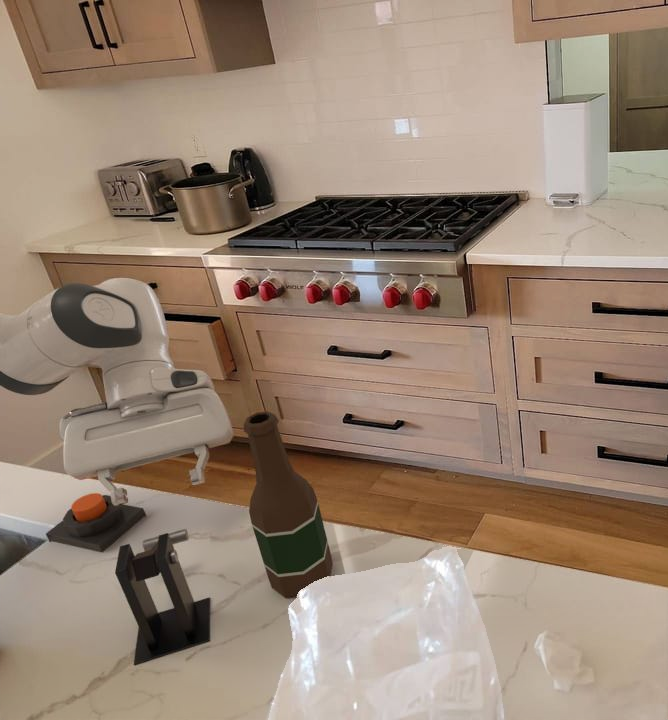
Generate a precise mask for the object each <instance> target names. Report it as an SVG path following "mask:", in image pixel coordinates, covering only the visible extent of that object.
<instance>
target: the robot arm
mask: <svg viewBox="0 0 668 720" xmlns="http://www.w3.org/2000/svg"><path fill="white" fill-rule="evenodd" d="M165 317H166V316H165V314H164V311H163V307H162V304H161V302H160V300H159V298H158V295H157V294H156V292H155V291H154V289H153V288H152V287H151V286H150V285H149V284H147V283H146V282H144V281H141V280H138V279H134V278H129V277H115V278H109V279H107V280H105V281H103V282H101V283H100V284H96V285H90V284H87V283H81V282H72V283H66V284H64V285H62V286H60V287H58V288H56V289H54V290H52V291H50V292H49V293H48V294H46V295H44V296H43V297H41V298H40V299H38V300H36V302H34V303H33V304H32V305H31V306H28V308H26V309H24V310H23V311H21V312H20V313H18V314H16V315H13V314H12V315H11V314H5V313H2V312H0V387H2V388H3V389H5V390H8V391H10V392H11V393H15V394H19V395H24V396H37V395H43V394H46V393H48V392H50V391H52V390H54V389H55V388H56V387H58V386H59V385H60V384H61V383H63V382H64V381H66V380H67V379H68V378H69V377H70V376H71V375H73V374H75V373H77V372H78V371H80V370H83V368H85V367H87V366H89V365H90V366H91V365H92V366H93V365H94V366H98V367H100V369H101V370H102V373H101V374H102V381H103V388H104V395H105V401H104V402H100V403H95V404H92V405H89V406H84V407H78V408H74V409H70V411H69V413H67V414H66V415H64V416H63V417H62V418H61V420H60V421H59V434H60V439H61V440H62V441H63V447H62V448H63V449H62V457H63V458H62V459H63V469H64V472H65V473H66V474H67V475H69V476H70V477H71V478H73V479H76V480H79V481H84V480H87V479H91V478H96V477H97V480H98V481H99V482H100V483H101V485H103V487H105V489H106V490H107V491H109V492H110V493H109V496H111V501H112V504H113V505H115V506H117V505H121V504H124V505H126V504H128V503H129V498H128V492H127V489H126V488H124V487H119V488H117V487H116V486H115V485H114V483H113V482H112V481H115V480H116V476H115V475H116V474H115V473H116V472H119V471H124V470H128V469H131V468H136V467H140V466H144V465H147V464H151V463H156V462H160V461H163V460H164V461H165V460H167V459H168V460H169V459H172V458H176V457H179V456H183V455H184V456H185V455H188V454H192V453H194V455H195V456H197V457H196V458H198V460H197V462H196V465H195V468H193V469H189V470H188V475H189V476H190V478H189V479H190V484H191V485H192V486H197V485H201V484H205V483H206V478H205V473H204V470H205V469H206V466H207V463H208V461H209V459H210V452H209V449H211V448H216V447H219V446H223V445H228V444H230V443H231V442H232V440H233V438H234V435H235V433H234V428H233V425H232V421H231V419H230V416H229V413H228V411H227V408H226V407H225V405H224V403H223V400H221V398H220V396H219V395H218V393H217V392H216V390H215V386H214V383H213V381H212V379H211V377H210V376H209V374H207V373H206V372H205V371H203V370H199V369H182V368H175V364H174V362H173V360H172V357H171V356H170V351H169V350H170V349H169V348H170V335H169V330H168V325H167V320H166V318H165Z"/></svg>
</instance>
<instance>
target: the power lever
mask: <svg viewBox="0 0 668 720" xmlns="http://www.w3.org/2000/svg"><path fill="white" fill-rule="evenodd" d="M168 534H169V536H170V539H171V542H172V544H173V545H177V544H179V543H183V542H186V541H187V542H188V541H189V537H190V536H189V532H188V529H187V528H184V529H180V530H176V531H172V532H168ZM158 538H159V535H158V536H154V537H151V538H148V539H147V538H146V539H144V540H142V549H143V551H141V552H138V553H136V554H135V555H134V556H135V557H134V558H133V559H132V560H131V562H132V566H133V570H134V574H135V578H136V581H137V582H138V581H141V580H145V581H146V580H149V579H151V578H152V579H153V578H156V577H158V576H160V575H161V573H160V570H159V568H158V565H157V563H156V555H157V547H158Z"/></svg>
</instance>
